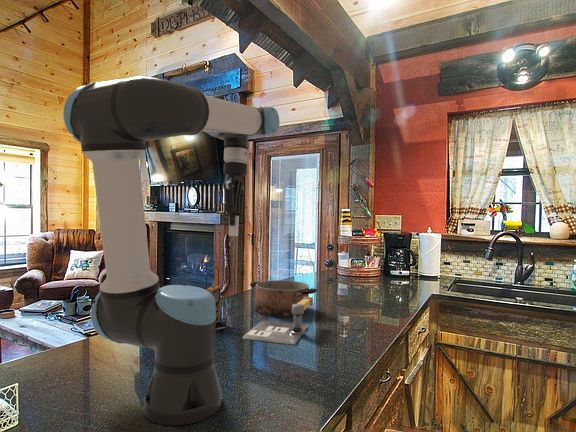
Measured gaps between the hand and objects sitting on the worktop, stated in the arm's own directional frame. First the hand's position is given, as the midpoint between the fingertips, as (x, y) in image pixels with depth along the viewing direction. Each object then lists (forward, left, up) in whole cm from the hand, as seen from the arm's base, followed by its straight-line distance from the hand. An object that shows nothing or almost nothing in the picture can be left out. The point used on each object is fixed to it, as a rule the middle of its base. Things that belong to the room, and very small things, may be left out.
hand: (233, 235), depth 116 cm
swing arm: (+15, -20, -25) cm, 36 cm away
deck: (+9, -13, -32) cm, 36 cm away
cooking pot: (+39, -6, -33) cm, 51 cm away
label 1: (+3, -9, -32) cm, 34 cm away
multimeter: (+11, +8, -33) cm, 35 cm away
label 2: (+9, -13, -32) cm, 36 cm away
